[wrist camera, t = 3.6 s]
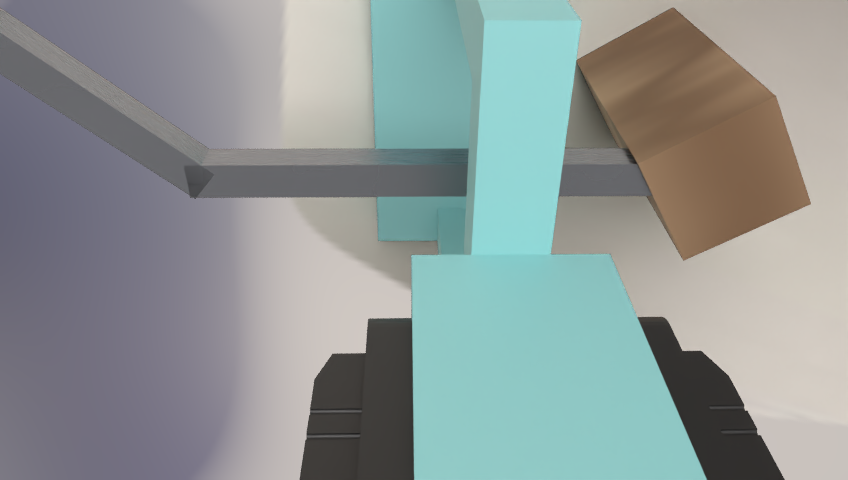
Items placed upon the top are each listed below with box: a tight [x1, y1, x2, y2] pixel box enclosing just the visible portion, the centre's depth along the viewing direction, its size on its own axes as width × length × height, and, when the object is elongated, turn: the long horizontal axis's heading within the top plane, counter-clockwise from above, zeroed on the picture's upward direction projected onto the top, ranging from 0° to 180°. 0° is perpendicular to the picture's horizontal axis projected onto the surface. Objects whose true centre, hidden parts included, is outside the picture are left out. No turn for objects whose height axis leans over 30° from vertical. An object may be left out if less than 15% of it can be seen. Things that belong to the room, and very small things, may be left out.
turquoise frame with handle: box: [370, 0, 707, 480], centre depth 13 cm, size 5×10×18 cm, turn 179°
